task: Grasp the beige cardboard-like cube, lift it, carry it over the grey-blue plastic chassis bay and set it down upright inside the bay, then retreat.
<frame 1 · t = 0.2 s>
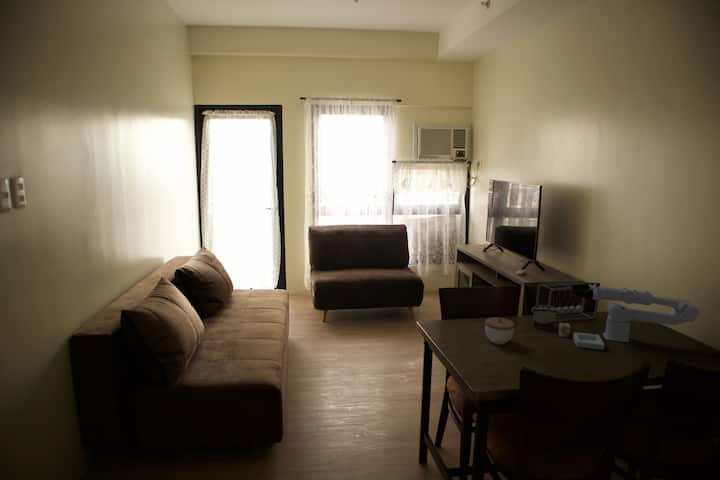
hand: (573, 290, 224), 21 cm above the table, tool horizontal, fingers open, 7 cm apart
beige cardboard-like cube: (563, 334, 226), on the table
newton's cradle: (565, 318, 249), on the table
chassis bay: (587, 343, 216), on the table
lidded bowl: (498, 341, 217), on the table
food container: (541, 326, 237), on the table
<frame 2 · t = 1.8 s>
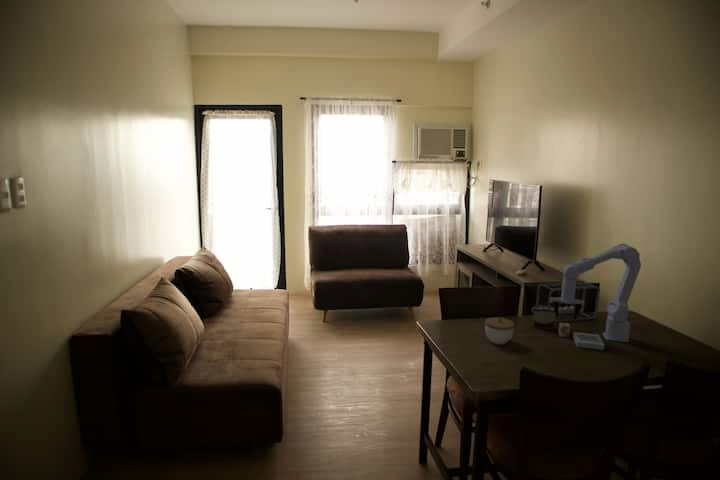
hand: (565, 318, 224), 8 cm above the table, tool pointing down, fingers open, 7 cm apart
nothing on the table moved.
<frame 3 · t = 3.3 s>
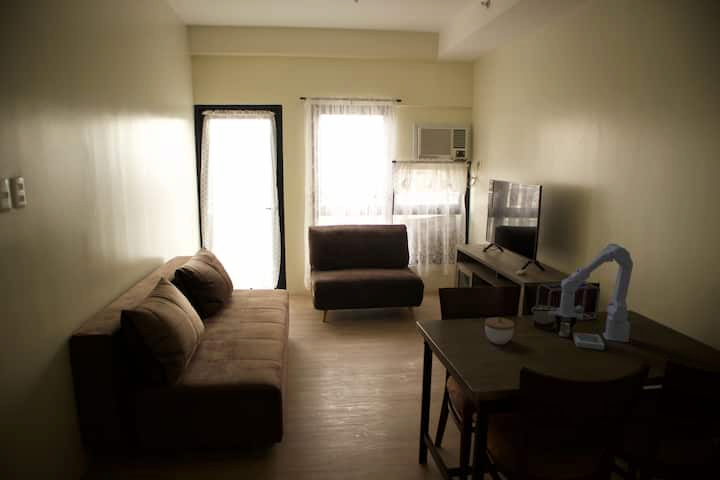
hand: (564, 331, 226), 1 cm above the table, tool pointing down, fingers closed on beige cardboard-like cube, 4 cm apart
beige cardboard-like cube: (563, 334, 226), on the table, touching gripper
everything else where it was.
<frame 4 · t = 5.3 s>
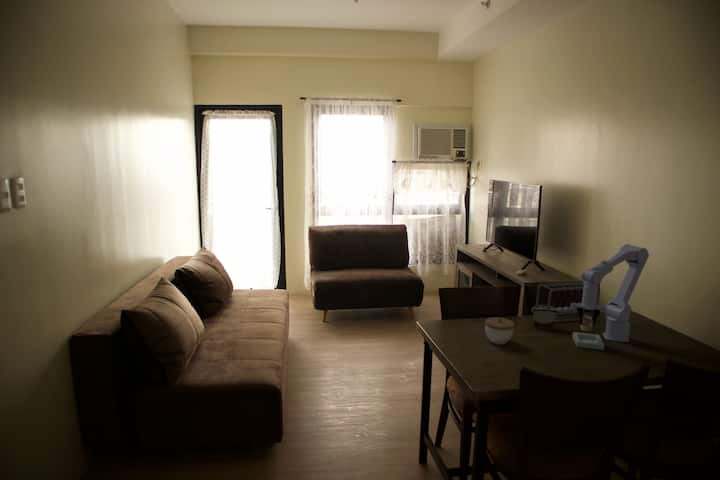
hand: (586, 324, 216), 8 cm above the table, tool pointing down, fingers closed on beige cardboard-like cube, 4 cm apart
beige cardboard-like cube: (585, 328, 216), point 6 cm above the table, touching gripper
everything else where it was.
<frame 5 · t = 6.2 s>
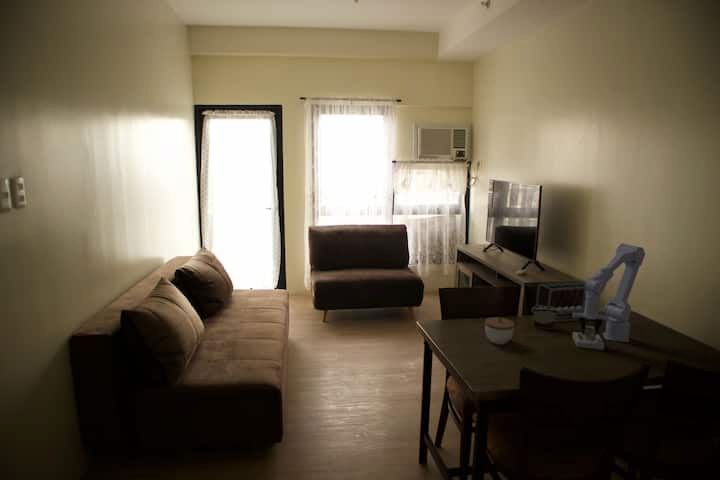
hand: (588, 334, 215), 4 cm above the table, tool pointing down, fingers closed on beige cardboard-like cube, 4 cm apart
beige cardboard-like cube: (588, 338, 216), point 2 cm above the table, touching gripper
everything else where it was.
when the fingers open (3 cm above the table, at t = 7.2 s): beige cardboard-like cube stays where it is, resting on chassis bay.
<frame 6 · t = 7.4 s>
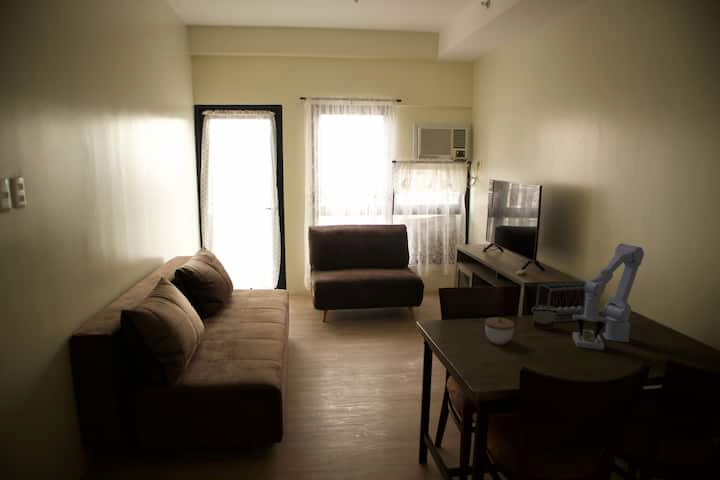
hand: (588, 336, 215), 3 cm above the table, tool pointing down, fingers open, 5 cm apart
beige cardboard-like cube: (587, 342, 216), resting on chassis bay
everything else where it was.
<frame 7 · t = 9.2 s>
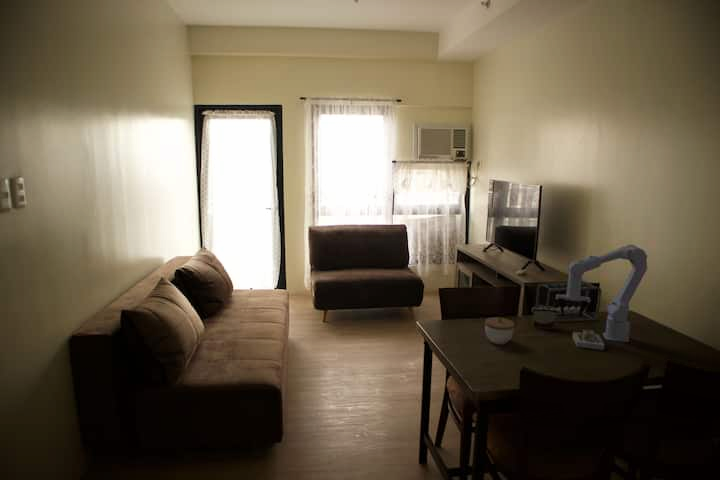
hand: (570, 315, 225), 9 cm above the table, tool pointing down, fingers open, 7 cm apart
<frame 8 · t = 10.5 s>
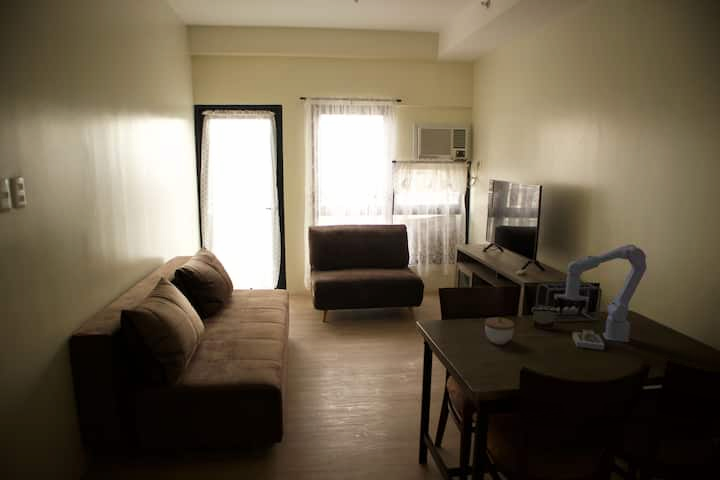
hand: (569, 314, 226), 9 cm above the table, tool pointing down, fingers open, 7 cm apart
at the end: beige cardboard-like cube 0.2 cm off-centre on the chassis bay, point 0.5 cm above the chassis bay's base; beige cardboard-like cube tilted 0°; the gripper is holding nothing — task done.
